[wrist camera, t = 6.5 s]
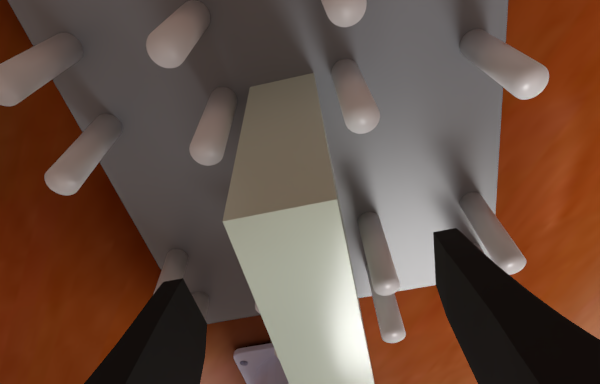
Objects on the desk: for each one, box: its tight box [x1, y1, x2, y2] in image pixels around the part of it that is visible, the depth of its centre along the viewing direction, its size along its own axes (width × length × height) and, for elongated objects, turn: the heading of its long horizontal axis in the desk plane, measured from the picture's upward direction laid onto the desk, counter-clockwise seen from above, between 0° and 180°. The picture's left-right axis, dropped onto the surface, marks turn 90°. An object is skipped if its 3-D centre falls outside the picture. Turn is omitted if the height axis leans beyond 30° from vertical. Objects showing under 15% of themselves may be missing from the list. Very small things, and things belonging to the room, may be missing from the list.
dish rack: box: [0, 0, 549, 358], centre depth 16 cm, size 17×16×5 cm
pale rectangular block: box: [222, 73, 375, 384], centre depth 14 cm, size 8×2×8 cm, turn 12°
